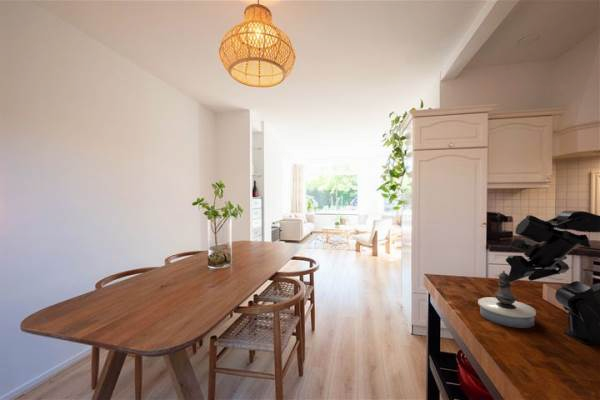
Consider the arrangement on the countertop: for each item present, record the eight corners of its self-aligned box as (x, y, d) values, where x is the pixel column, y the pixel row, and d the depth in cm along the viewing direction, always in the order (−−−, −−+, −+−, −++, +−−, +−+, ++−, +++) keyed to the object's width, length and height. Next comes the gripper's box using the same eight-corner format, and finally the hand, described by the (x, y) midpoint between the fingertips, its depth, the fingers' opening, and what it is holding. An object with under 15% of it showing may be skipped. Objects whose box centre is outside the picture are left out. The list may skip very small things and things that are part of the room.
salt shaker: (497, 307, 81) (495, 272, 81) (493, 301, 86) (491, 267, 86) (520, 310, 78) (517, 273, 78) (514, 303, 83) (512, 269, 83)
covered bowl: (550, 329, 73) (549, 316, 73) (495, 327, 76) (495, 314, 76) (514, 308, 88) (514, 297, 88) (470, 307, 90) (469, 296, 90)
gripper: (550, 229, 80) (518, 260, 89) (507, 229, 76) (478, 262, 85) (587, 255, 71) (548, 286, 80) (541, 257, 67) (505, 290, 76)
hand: (519, 280), depth 80 cm, fingers open, 9 cm apart
